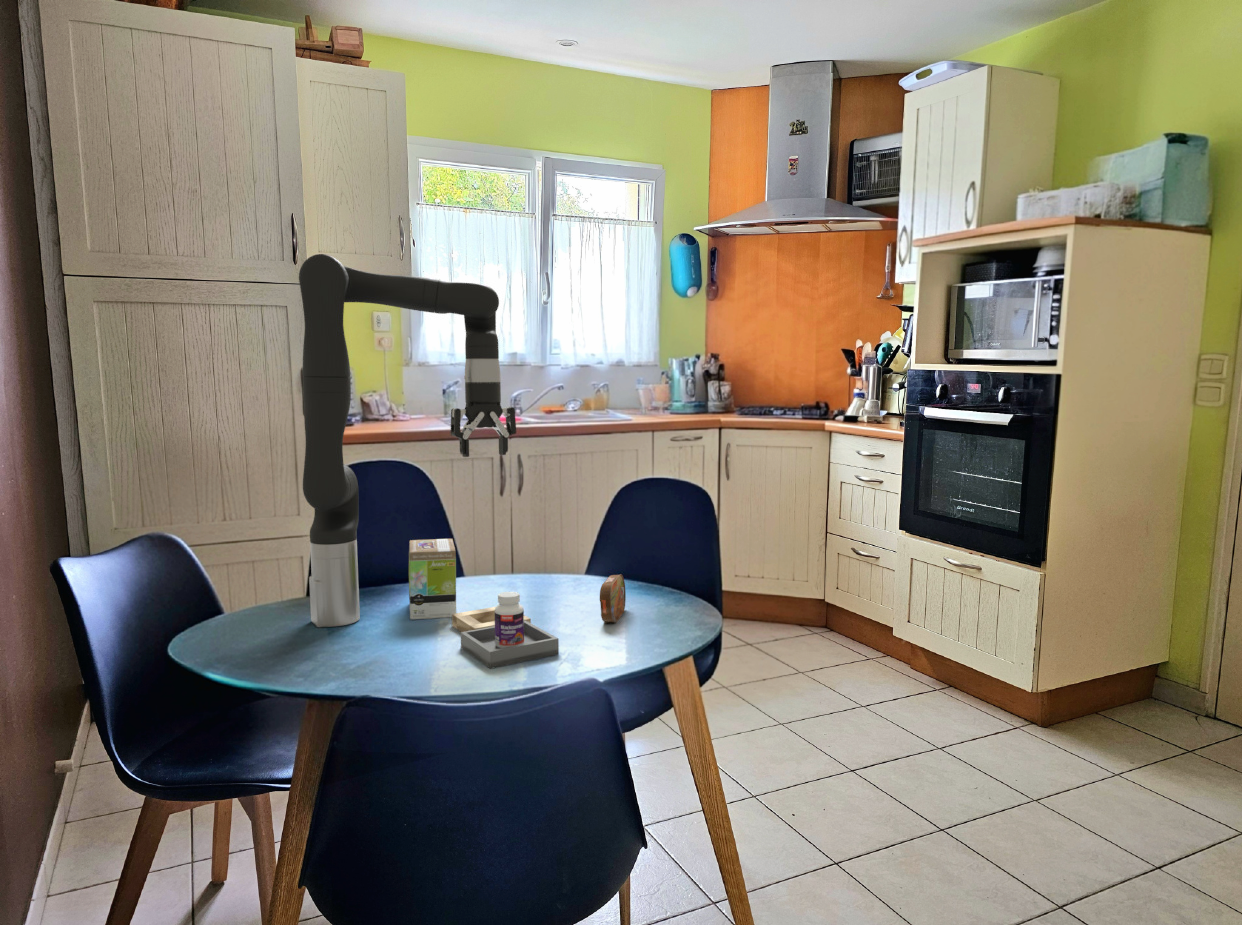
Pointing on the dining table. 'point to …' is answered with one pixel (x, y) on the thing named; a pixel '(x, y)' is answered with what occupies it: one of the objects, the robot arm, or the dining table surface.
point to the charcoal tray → (490, 655)
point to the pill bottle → (509, 620)
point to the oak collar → (476, 619)
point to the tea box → (432, 578)
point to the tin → (612, 598)
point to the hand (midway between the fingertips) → (484, 455)
